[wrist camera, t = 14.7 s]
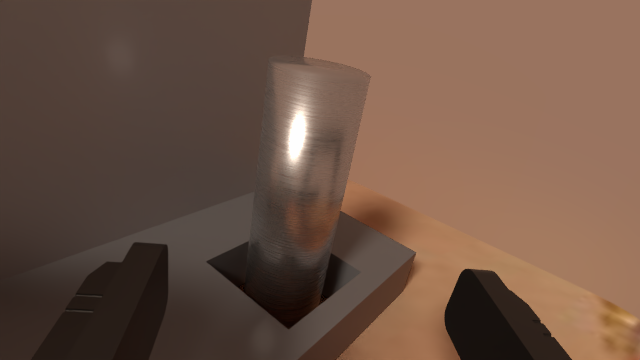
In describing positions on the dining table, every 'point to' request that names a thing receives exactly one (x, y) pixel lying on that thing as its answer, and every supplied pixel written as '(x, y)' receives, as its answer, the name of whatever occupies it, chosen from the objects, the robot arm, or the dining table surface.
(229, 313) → the grey l-shaped stand
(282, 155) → the rod
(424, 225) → the dining table surface
